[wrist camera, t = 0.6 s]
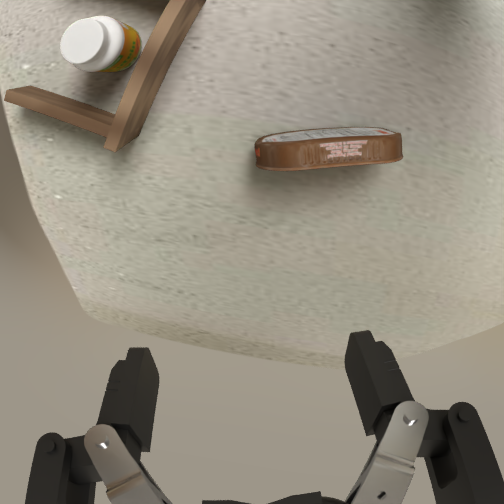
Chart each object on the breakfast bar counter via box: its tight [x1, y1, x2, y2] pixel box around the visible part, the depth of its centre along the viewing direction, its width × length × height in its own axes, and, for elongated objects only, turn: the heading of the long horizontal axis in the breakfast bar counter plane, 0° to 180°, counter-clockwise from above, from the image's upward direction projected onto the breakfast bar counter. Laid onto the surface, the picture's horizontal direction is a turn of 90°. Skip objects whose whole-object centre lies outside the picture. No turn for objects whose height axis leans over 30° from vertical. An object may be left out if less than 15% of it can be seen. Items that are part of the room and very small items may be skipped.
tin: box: [255, 127, 403, 171], centre depth 30 cm, size 15×3×8 cm, turn 97°
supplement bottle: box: [60, 16, 142, 72], centre depth 22 cm, size 5×5×10 cm
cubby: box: [4, 0, 206, 152], centre depth 22 cm, size 16×16×8 cm
